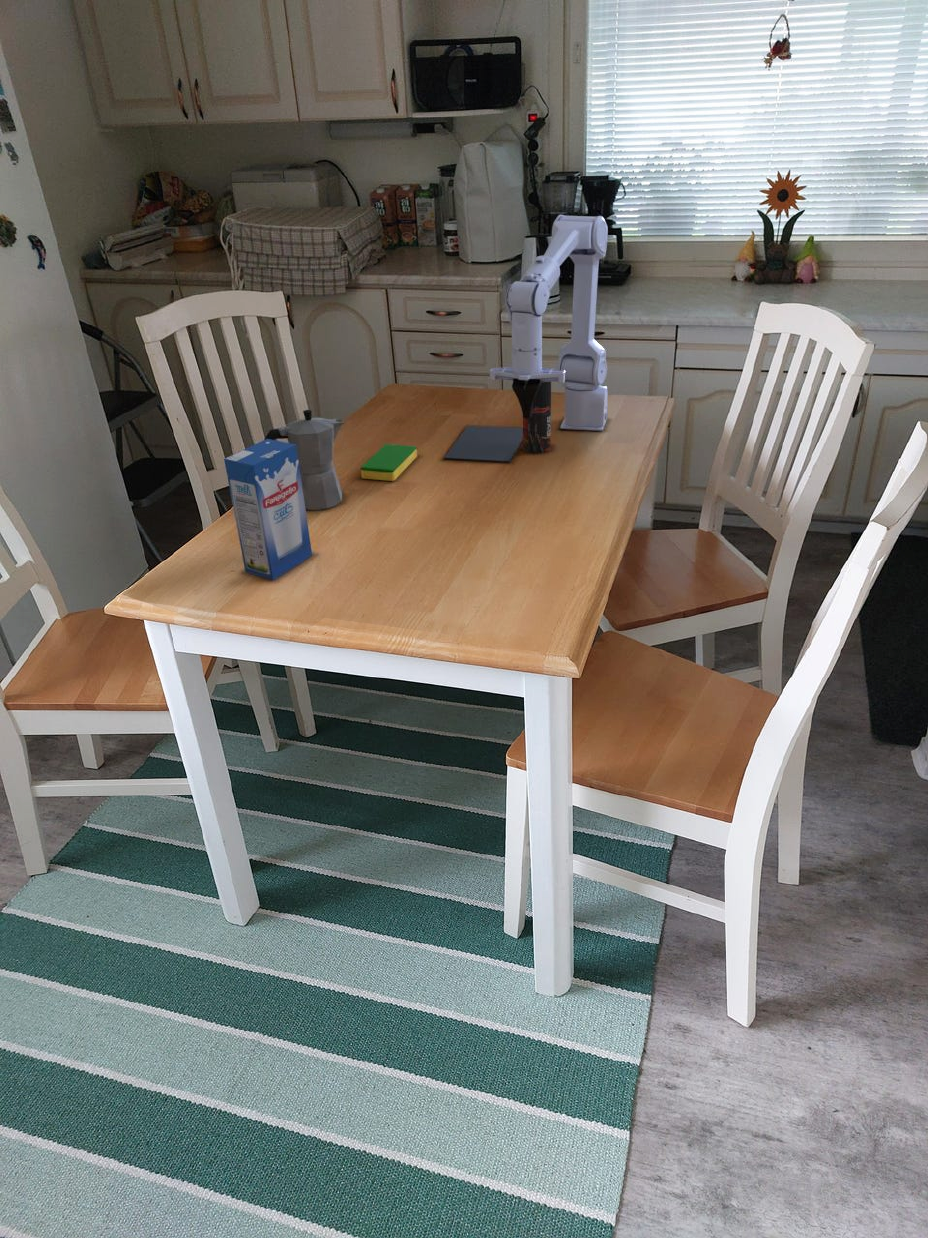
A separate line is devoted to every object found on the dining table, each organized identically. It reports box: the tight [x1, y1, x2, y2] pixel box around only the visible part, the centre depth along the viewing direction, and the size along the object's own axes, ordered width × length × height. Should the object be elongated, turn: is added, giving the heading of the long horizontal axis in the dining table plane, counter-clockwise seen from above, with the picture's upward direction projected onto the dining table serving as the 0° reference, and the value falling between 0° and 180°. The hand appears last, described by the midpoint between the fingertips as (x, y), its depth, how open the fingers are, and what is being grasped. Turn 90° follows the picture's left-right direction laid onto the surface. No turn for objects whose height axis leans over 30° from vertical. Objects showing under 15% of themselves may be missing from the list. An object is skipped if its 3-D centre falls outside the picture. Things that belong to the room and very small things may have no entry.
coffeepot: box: [263, 409, 345, 511], centre depth 172 cm, size 15×9×18 cm, turn 116°
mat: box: [443, 424, 523, 464], centre depth 199 cm, size 14×20×1 cm
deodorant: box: [522, 381, 552, 454], centre depth 192 cm, size 6×6×15 cm
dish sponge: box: [360, 443, 418, 482], centre depth 189 cm, size 7×14×2 cm, turn 162°
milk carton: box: [223, 438, 313, 581], centre depth 150 cm, size 10×6×20 cm, turn 148°
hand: (527, 416), depth 182 cm, fingers closed
